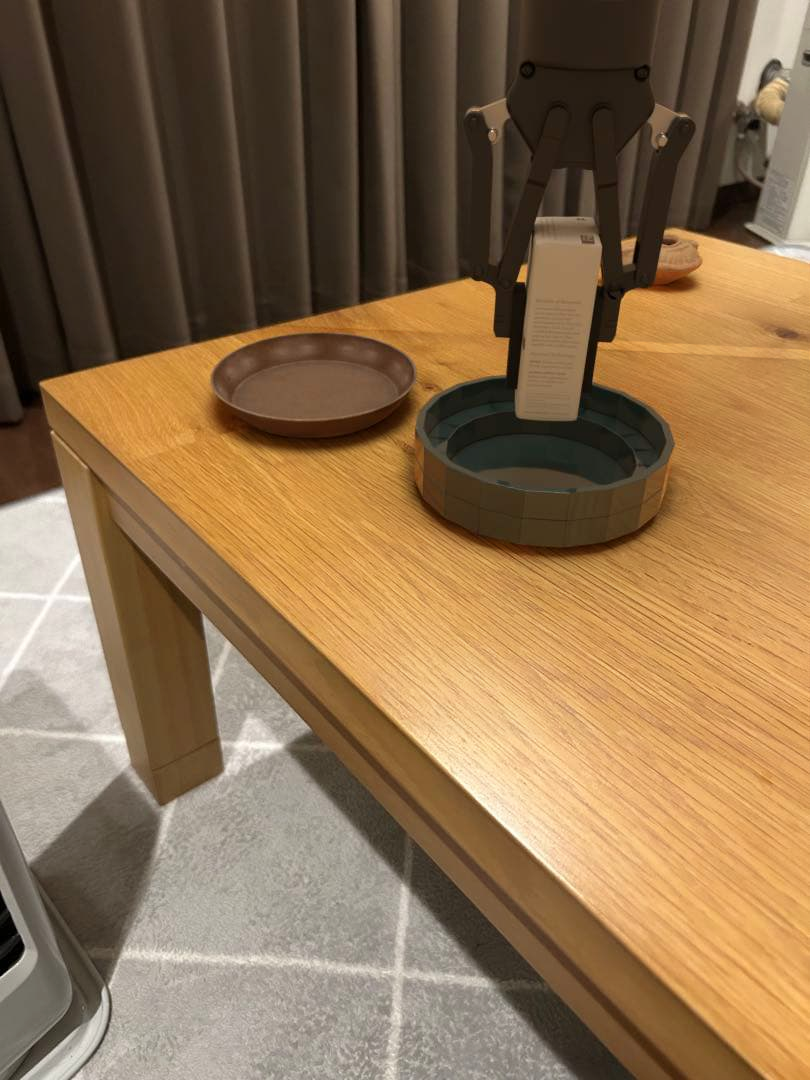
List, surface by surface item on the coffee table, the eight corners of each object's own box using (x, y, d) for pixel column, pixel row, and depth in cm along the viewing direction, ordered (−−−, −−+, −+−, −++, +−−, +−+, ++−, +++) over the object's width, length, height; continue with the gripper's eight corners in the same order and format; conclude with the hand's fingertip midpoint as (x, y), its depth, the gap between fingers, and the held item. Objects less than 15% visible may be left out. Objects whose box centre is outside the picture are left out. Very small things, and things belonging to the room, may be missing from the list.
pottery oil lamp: (580, 269, 106) (600, 212, 105) (665, 301, 109) (686, 246, 108) (606, 265, 98) (629, 202, 97) (698, 300, 101) (721, 239, 99)
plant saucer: (359, 469, 67) (358, 434, 65) (171, 423, 73) (166, 390, 71) (447, 383, 80) (448, 351, 78) (282, 350, 86) (280, 320, 84)
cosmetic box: (514, 384, 64) (526, 213, 57) (575, 386, 63) (595, 215, 56) (515, 422, 59) (528, 240, 52) (582, 424, 58) (604, 241, 51)
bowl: (644, 435, 72) (655, 379, 69) (679, 565, 57) (694, 500, 54) (425, 423, 73) (426, 368, 70) (403, 547, 58) (403, 483, 55)
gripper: (427, -18, 44) (418, 399, 58) (775, -12, 43) (683, 413, 56) (438, -23, 50) (427, 355, 64) (742, -17, 49) (666, 367, 62)
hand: (547, 381), depth 60 cm, fingers closed on cosmetic box, 4 cm apart
